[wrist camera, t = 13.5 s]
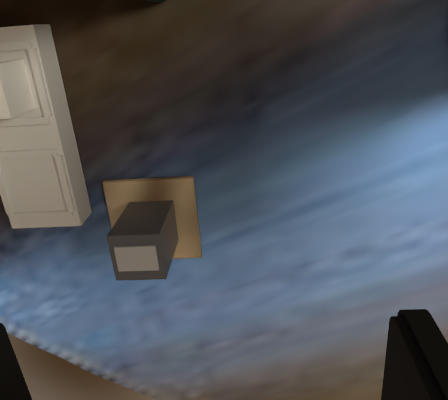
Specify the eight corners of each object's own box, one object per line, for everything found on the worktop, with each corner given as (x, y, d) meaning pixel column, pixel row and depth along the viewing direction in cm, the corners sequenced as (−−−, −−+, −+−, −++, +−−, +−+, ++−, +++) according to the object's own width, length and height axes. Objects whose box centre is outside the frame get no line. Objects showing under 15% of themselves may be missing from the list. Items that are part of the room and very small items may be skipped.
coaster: (193, 175, 40) (192, 178, 40) (202, 254, 44) (201, 257, 43) (104, 180, 41) (102, 182, 40) (119, 257, 44) (118, 260, 44)
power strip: (-29, 26, 36) (-89, 28, 29) (48, 20, 35) (4, 20, 29) (27, 215, 43) (-12, 249, 37) (91, 212, 42) (64, 246, 36)
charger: (129, 202, 41) (106, 237, 34) (173, 200, 41) (158, 235, 34) (136, 241, 43) (115, 281, 36) (178, 239, 42) (165, 280, 36)
